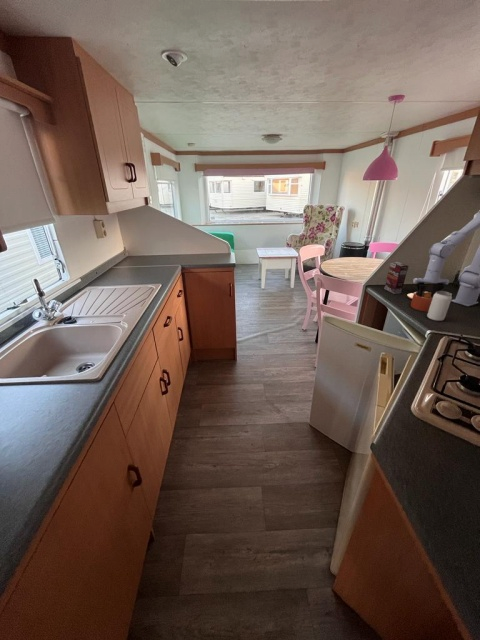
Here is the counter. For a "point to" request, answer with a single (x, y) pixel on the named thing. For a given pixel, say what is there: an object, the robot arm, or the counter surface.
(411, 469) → the counter surface
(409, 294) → the lid
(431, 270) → the robot arm
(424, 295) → the bun
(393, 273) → the supplement box
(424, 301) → the pot
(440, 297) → the can
